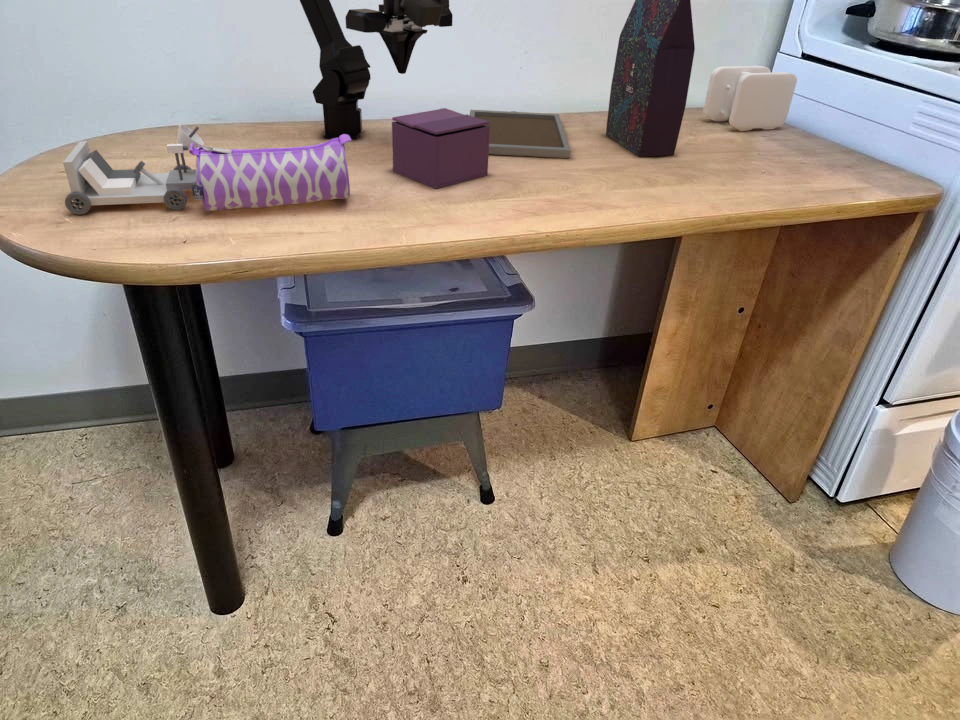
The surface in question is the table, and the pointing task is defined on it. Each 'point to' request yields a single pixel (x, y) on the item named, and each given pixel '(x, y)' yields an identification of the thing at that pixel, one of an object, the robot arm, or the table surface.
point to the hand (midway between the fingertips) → (401, 73)
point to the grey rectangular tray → (525, 133)
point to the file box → (442, 150)
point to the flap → (426, 117)
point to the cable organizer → (749, 96)
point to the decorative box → (651, 77)
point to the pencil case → (270, 175)
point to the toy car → (128, 178)
